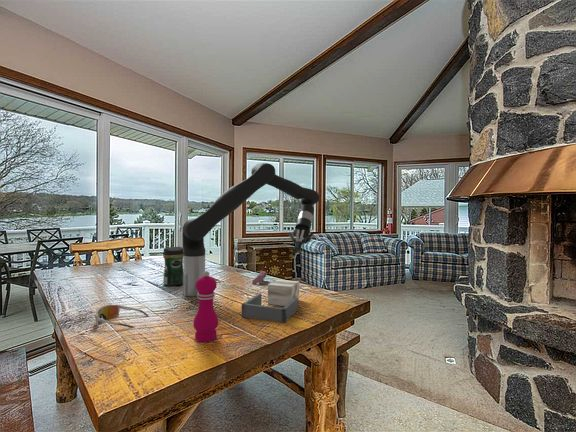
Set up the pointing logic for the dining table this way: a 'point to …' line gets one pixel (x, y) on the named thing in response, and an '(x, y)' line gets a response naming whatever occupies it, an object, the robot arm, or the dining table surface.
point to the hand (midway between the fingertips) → (297, 249)
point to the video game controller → (259, 277)
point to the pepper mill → (206, 309)
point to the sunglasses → (112, 314)
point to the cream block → (282, 292)
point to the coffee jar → (173, 266)
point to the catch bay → (268, 310)
